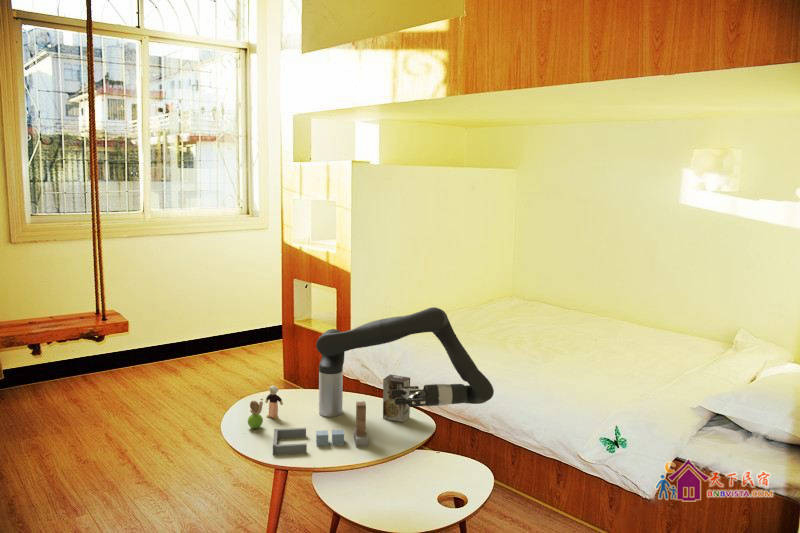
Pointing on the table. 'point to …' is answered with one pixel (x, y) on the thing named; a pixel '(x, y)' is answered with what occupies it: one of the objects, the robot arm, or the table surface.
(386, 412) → the coffee box
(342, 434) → the block
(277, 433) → the grey u-shaped wall
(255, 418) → the snail figurine
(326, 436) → the block
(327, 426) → the table surface
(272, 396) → the grandmother figurine
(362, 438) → the tall wooden pillar
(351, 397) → the table surface
